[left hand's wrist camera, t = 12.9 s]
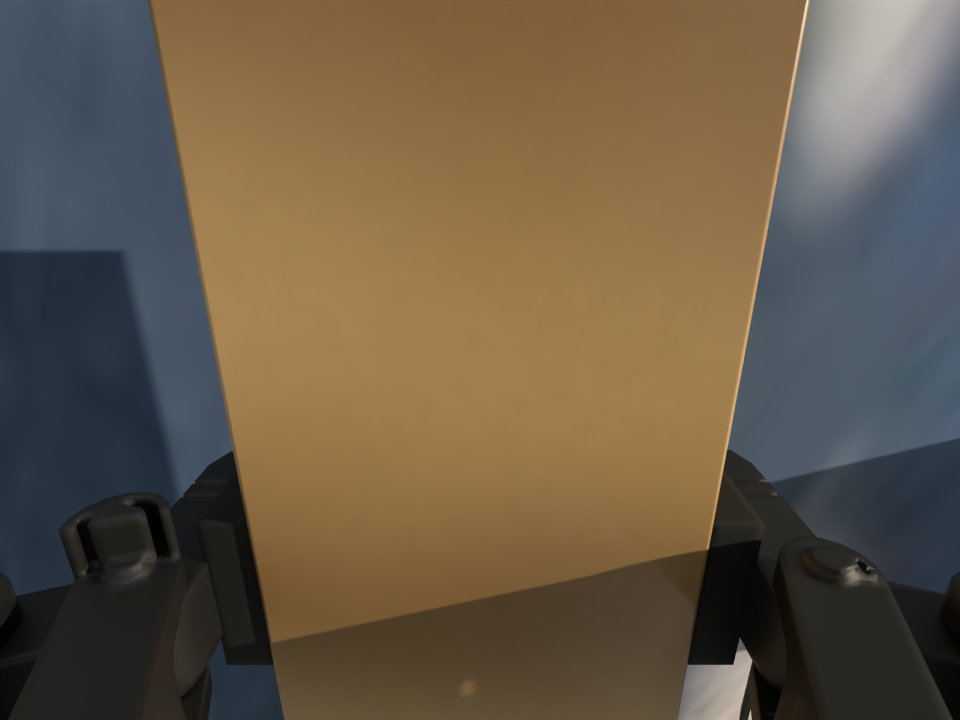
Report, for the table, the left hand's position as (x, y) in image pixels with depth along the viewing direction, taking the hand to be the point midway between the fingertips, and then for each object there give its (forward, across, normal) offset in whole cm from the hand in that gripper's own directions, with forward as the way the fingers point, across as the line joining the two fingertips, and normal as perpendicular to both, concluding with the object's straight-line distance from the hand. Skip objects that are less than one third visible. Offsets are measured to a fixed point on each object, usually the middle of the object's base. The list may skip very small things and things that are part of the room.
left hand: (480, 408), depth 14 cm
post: (+1, 0, -18) cm, 18 cm away
